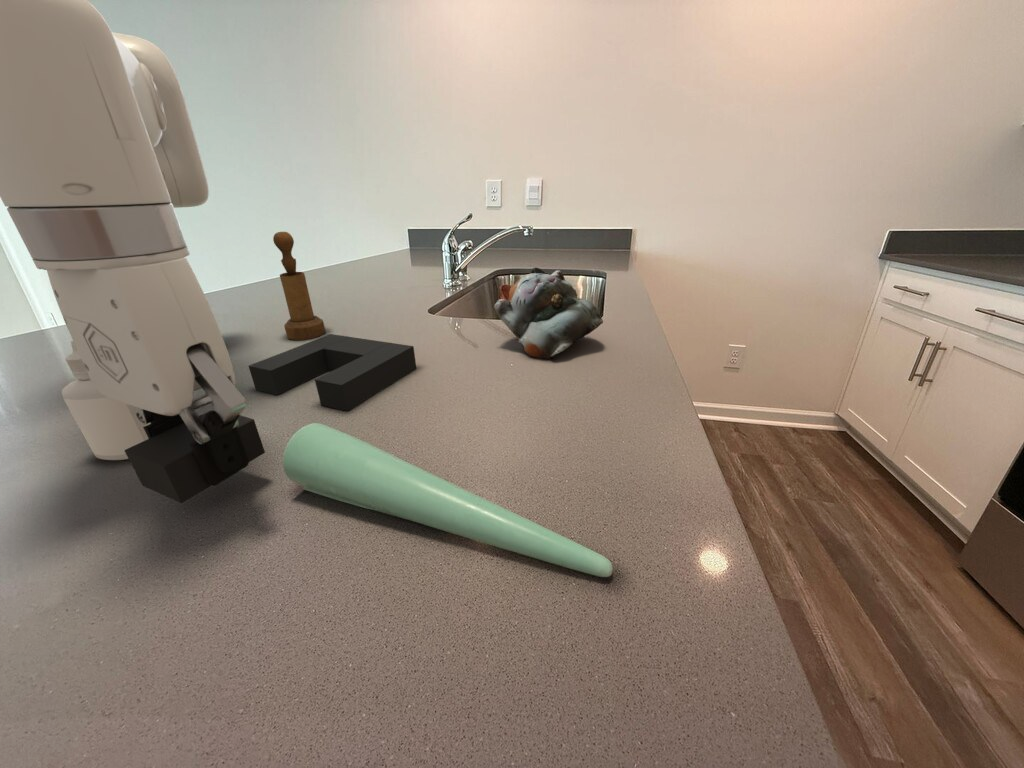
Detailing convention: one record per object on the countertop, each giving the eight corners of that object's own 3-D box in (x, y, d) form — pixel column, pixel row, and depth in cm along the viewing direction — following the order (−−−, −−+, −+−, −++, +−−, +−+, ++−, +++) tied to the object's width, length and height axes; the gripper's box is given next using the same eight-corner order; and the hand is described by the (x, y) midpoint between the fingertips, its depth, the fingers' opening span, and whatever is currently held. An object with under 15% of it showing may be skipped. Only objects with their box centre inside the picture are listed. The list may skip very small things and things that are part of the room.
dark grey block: (142, 486, 32) (123, 449, 31) (228, 440, 38) (216, 407, 36) (181, 503, 30) (163, 466, 29) (265, 452, 36) (254, 418, 35)
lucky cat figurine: (537, 366, 59) (496, 278, 57) (513, 368, 71) (478, 295, 69) (618, 323, 63) (582, 239, 61) (583, 332, 75) (551, 261, 73)
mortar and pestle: (310, 341, 72) (284, 233, 64) (279, 339, 73) (249, 233, 66) (332, 329, 78) (311, 230, 70) (303, 328, 79) (278, 230, 72)
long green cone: (610, 547, 22) (274, 443, 33) (602, 612, 25) (291, 497, 35) (627, 488, 27) (327, 412, 37) (619, 548, 29) (339, 462, 39)
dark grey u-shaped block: (255, 389, 54) (248, 365, 53) (335, 354, 66) (330, 333, 64) (347, 411, 49) (341, 385, 47) (416, 368, 60) (413, 345, 59)
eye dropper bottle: (123, 469, 39) (61, 352, 34) (90, 457, 41) (27, 345, 36) (172, 445, 43) (123, 336, 37) (140, 435, 45) (88, 330, 39)
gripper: (-36, 237, 26) (95, 467, 34) (114, 252, 20) (231, 528, 28) (107, 227, 32) (189, 423, 40) (255, 235, 26) (317, 465, 34)
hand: (205, 464), depth 34 cm, fingers closed on dark grey block, 5 cm apart
